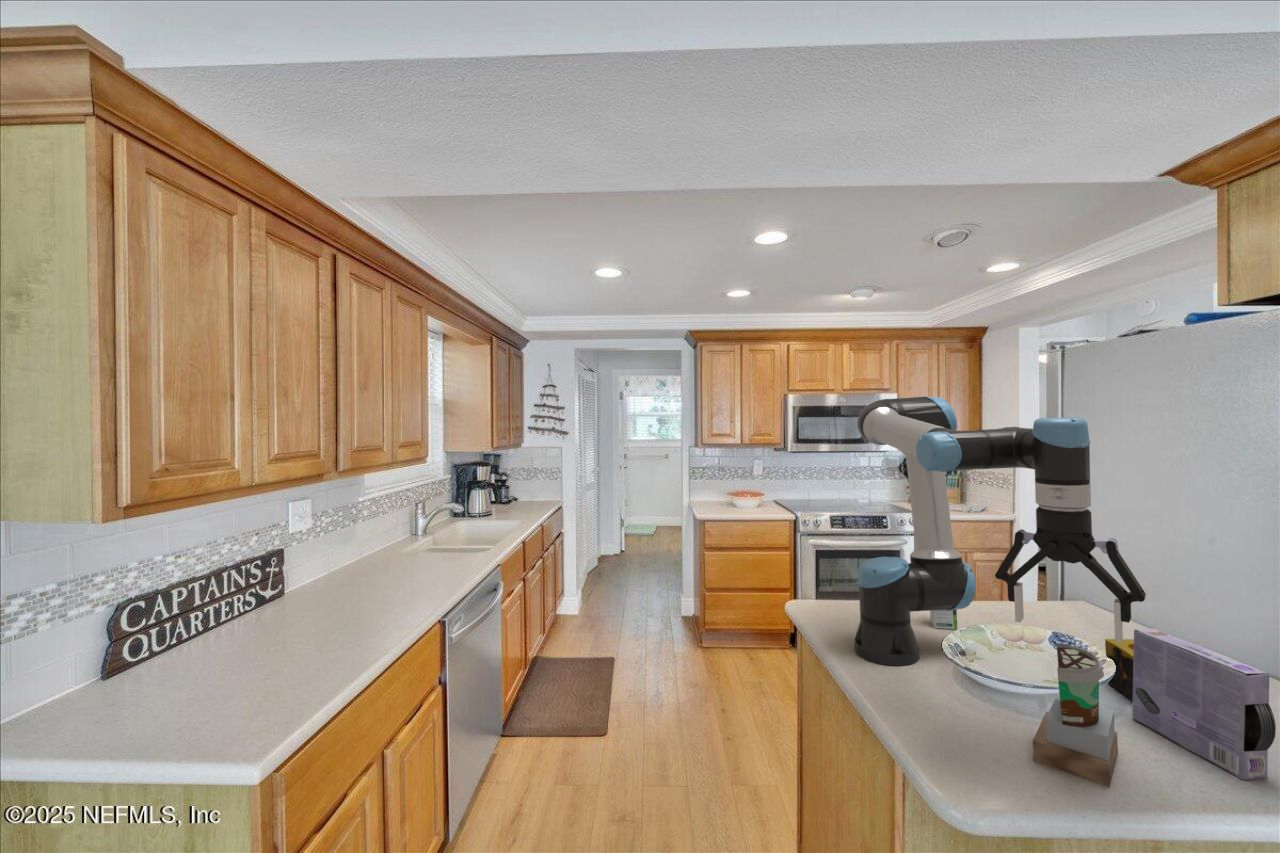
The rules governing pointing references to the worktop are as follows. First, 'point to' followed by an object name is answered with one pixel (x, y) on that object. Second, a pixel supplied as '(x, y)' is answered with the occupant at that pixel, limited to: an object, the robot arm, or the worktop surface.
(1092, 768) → the walnut base block
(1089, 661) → the food container
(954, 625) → the syrup box
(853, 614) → the worktop surface
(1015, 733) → the worktop surface
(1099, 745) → the slate top block
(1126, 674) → the yellow black cube
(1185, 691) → the cake pan box
